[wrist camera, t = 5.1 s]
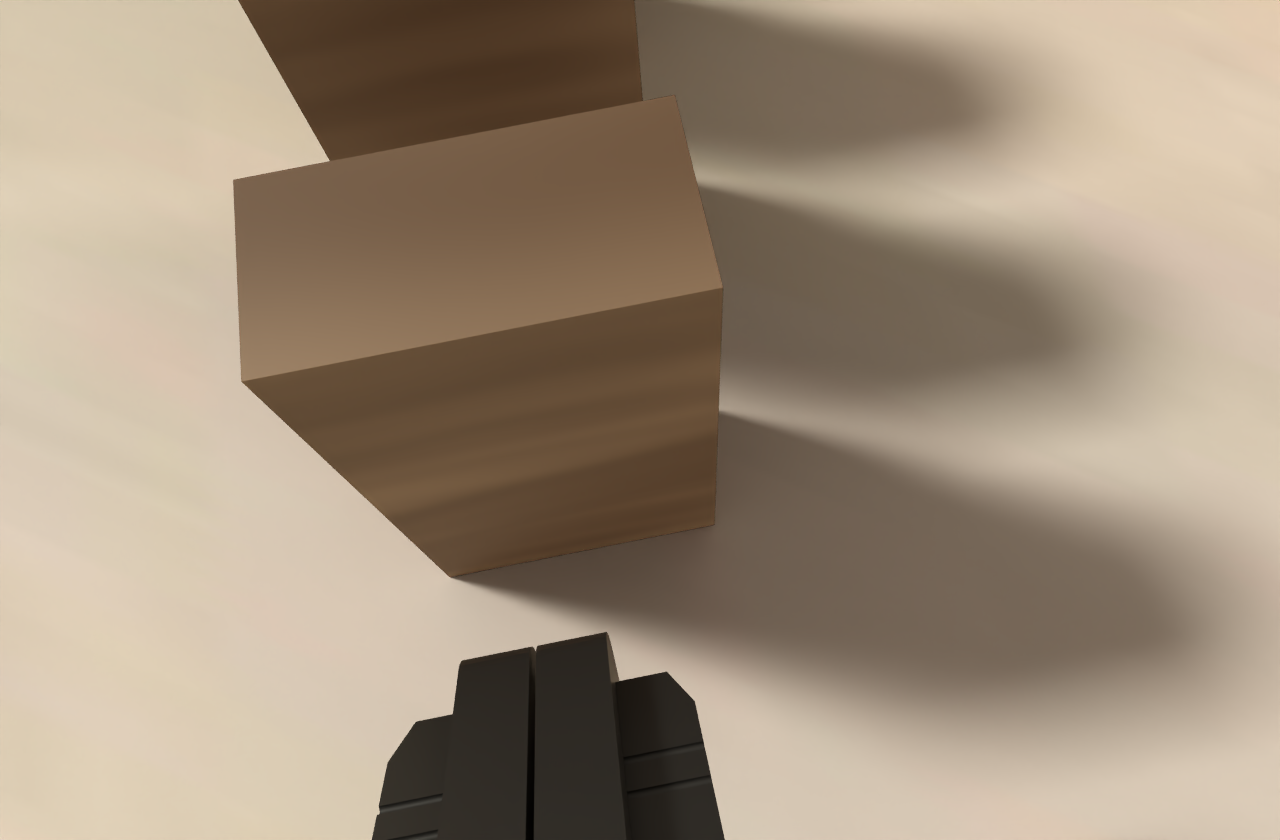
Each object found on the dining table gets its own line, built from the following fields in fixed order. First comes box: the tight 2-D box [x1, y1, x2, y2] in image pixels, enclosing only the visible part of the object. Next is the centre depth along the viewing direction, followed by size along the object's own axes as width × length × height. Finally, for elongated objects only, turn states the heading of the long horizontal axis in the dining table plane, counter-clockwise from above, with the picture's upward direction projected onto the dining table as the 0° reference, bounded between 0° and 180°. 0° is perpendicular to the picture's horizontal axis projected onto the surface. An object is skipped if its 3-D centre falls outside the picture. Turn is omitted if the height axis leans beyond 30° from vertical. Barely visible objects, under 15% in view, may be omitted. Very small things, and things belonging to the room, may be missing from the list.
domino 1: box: [238, 0, 643, 161], centre depth 17 cm, size 2×5×9 cm, turn 101°
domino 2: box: [233, 95, 723, 577], centre depth 15 cm, size 2×5×9 cm, turn 101°
